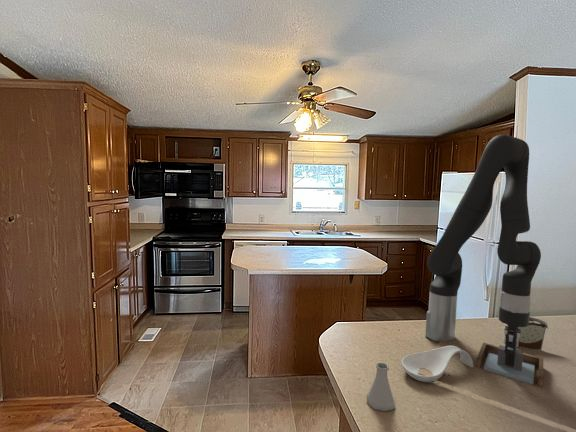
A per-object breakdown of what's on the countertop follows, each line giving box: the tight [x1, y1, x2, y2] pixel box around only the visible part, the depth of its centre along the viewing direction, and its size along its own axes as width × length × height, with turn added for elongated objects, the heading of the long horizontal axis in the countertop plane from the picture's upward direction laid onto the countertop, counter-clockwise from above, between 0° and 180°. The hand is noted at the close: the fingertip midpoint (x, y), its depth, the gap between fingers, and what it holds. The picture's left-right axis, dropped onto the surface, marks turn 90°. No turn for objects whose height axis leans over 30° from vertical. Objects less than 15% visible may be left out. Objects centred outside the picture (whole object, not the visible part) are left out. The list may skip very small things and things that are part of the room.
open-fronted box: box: [475, 342, 544, 388], centre depth 100 cm, size 16×13×4 cm
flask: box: [366, 361, 396, 412], centre depth 83 cm, size 7×7×10 cm
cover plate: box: [483, 344, 535, 385], centre depth 99 cm, size 12×11×6 cm
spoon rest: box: [400, 345, 475, 383], centre depth 98 cm, size 24×12×7 cm, turn 110°
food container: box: [518, 316, 549, 351], centre depth 117 cm, size 12×6×10 cm, turn 84°
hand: (510, 360), depth 99 cm, fingers open, 6 cm apart
